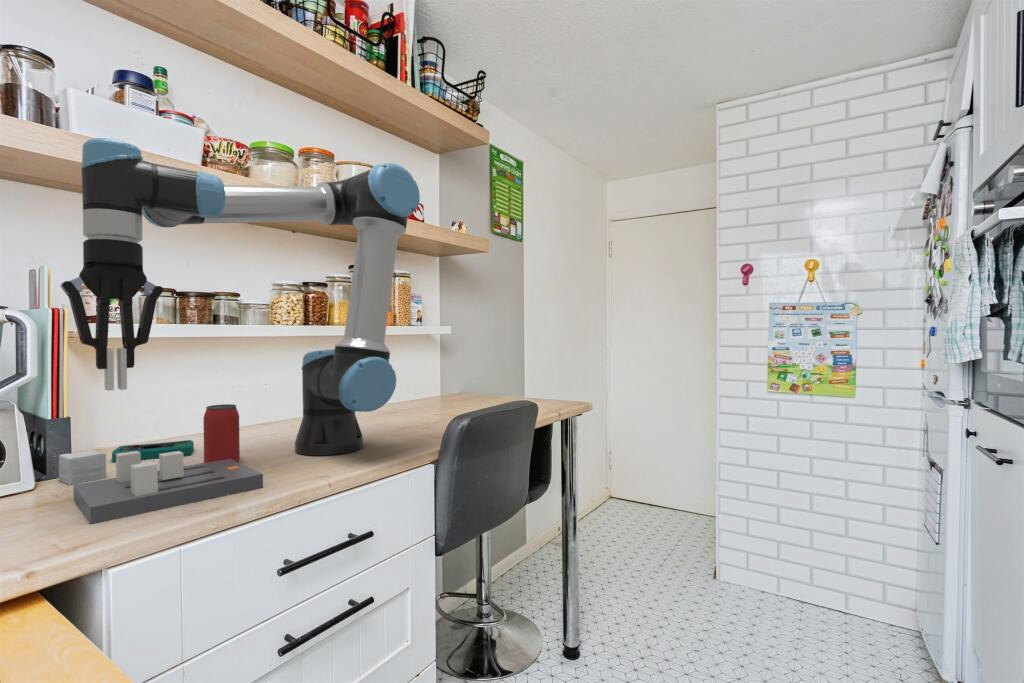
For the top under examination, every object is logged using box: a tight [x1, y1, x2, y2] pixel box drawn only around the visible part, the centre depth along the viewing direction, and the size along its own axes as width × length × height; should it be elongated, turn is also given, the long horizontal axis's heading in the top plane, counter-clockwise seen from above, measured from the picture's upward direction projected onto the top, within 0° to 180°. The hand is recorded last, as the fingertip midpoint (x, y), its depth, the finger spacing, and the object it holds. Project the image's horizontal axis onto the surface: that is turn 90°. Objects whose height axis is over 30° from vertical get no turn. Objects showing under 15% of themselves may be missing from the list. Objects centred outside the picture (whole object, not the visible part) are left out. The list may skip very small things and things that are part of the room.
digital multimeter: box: [111, 439, 195, 464], centre depth 116 cm, size 7×15×3 cm, turn 117°
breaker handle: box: [158, 451, 185, 480], centre depth 89 cm, size 3×2×4 cm
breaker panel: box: [72, 451, 264, 525], centre depth 89 cm, size 24×16×7 cm, turn 137°
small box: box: [58, 449, 107, 486], centre depth 97 cm, size 6×6×5 cm
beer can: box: [203, 403, 241, 463], centre depth 109 cm, size 7×7×12 cm
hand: (115, 389), depth 83 cm, fingers closed
